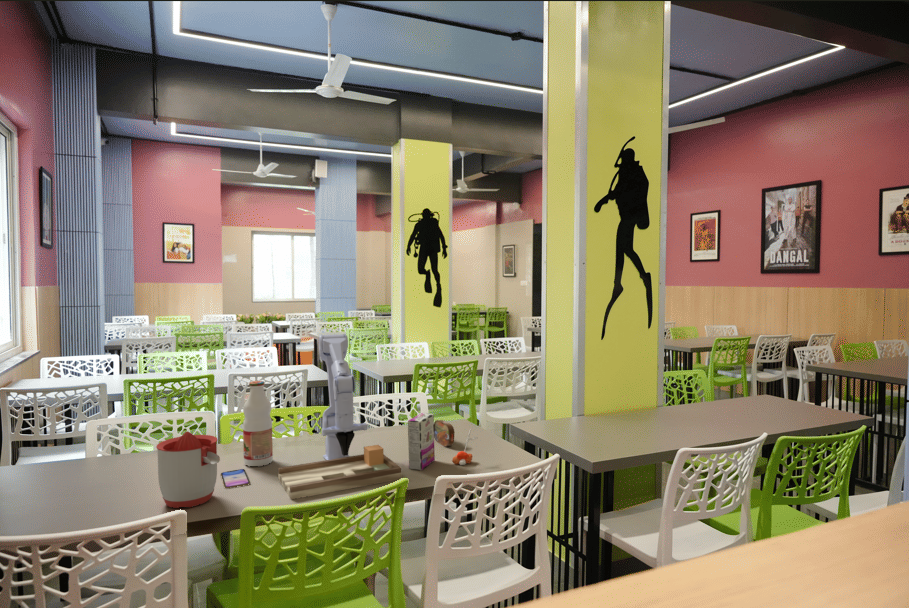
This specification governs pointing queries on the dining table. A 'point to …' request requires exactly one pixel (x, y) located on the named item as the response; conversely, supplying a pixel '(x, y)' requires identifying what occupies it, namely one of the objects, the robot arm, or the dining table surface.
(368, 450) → the block
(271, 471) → the dining table surface
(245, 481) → the smartphone
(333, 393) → the robot arm
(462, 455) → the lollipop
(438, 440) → the tin
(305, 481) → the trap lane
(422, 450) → the candy bar box
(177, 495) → the citrus juicer
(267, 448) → the fruit juice
